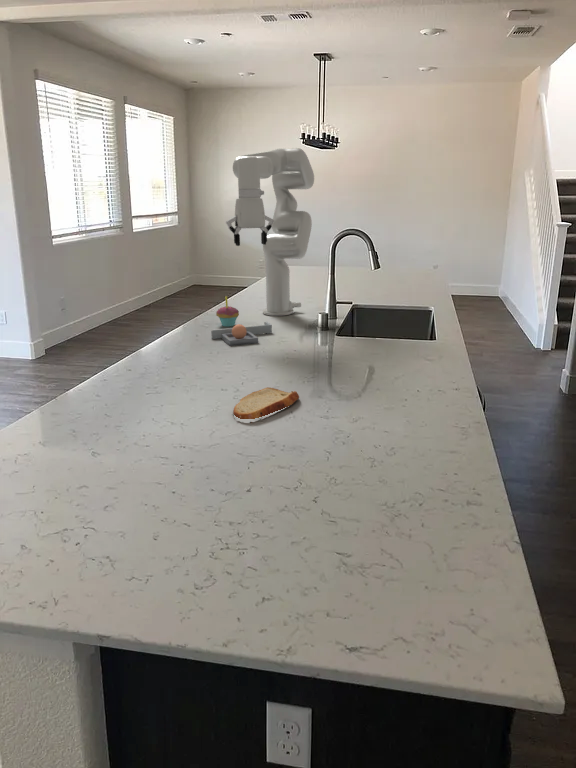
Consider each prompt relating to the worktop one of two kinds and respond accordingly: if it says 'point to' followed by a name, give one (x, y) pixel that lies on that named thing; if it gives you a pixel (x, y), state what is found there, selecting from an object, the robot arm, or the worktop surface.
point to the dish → (233, 341)
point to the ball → (239, 331)
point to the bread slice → (264, 403)
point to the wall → (253, 329)
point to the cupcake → (227, 315)
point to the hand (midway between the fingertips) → (250, 244)
